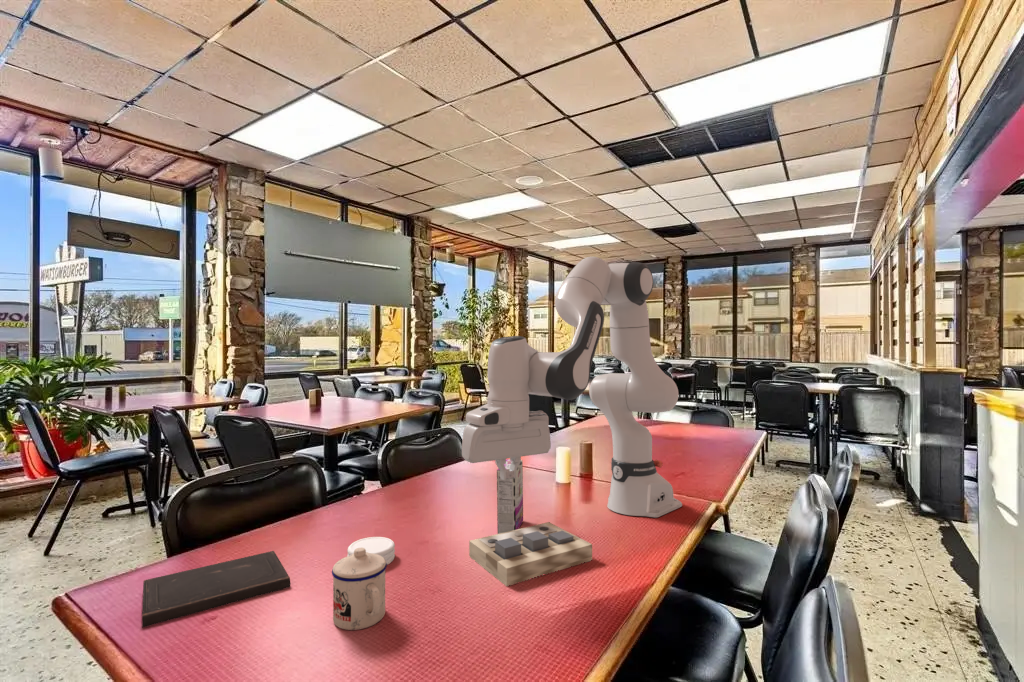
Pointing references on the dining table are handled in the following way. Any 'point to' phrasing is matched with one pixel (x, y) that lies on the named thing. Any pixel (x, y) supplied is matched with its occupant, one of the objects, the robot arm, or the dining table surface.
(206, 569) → the hardcover book
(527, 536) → the middle button
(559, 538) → the button
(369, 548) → the white round disc stack
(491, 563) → the button board
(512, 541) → the button
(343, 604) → the teacup with lid
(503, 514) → the candy bar box
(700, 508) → the dining table surface
